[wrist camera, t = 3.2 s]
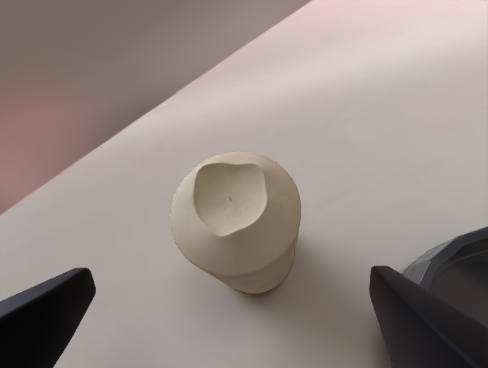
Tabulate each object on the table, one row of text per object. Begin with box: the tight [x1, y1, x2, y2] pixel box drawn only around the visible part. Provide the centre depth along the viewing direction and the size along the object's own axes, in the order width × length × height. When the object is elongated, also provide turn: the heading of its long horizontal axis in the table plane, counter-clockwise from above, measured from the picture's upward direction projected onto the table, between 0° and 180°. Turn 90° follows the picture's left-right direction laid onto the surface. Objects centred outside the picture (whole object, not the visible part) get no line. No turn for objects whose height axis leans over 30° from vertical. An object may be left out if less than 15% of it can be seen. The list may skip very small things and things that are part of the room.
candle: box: [170, 151, 301, 293], centre depth 14 cm, size 6×6×10 cm
